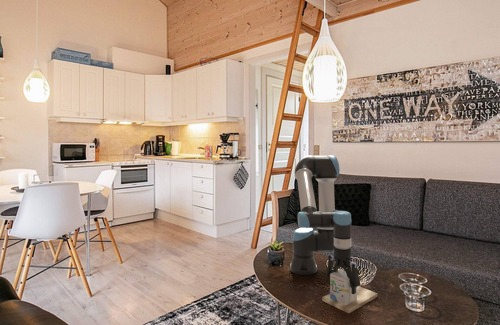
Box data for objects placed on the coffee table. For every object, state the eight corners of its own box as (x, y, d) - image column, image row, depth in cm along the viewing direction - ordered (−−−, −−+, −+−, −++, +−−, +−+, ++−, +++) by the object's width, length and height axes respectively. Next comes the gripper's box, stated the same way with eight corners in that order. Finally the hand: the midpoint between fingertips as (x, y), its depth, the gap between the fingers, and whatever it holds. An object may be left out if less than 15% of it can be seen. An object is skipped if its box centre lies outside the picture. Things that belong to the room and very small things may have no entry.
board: (322, 300, 140) (322, 297, 140) (351, 286, 154) (351, 283, 154) (348, 313, 129) (348, 309, 129) (377, 296, 143) (377, 293, 143)
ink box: (329, 298, 139) (329, 273, 138) (341, 292, 144) (341, 268, 143) (345, 306, 132) (345, 279, 132) (357, 299, 137) (357, 274, 137)
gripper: (317, 242, 143) (318, 290, 144) (359, 255, 126) (359, 308, 127) (327, 239, 147) (328, 285, 149) (369, 251, 130) (369, 302, 132)
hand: (342, 296), depth 138 cm, fingers open, 9 cm apart
